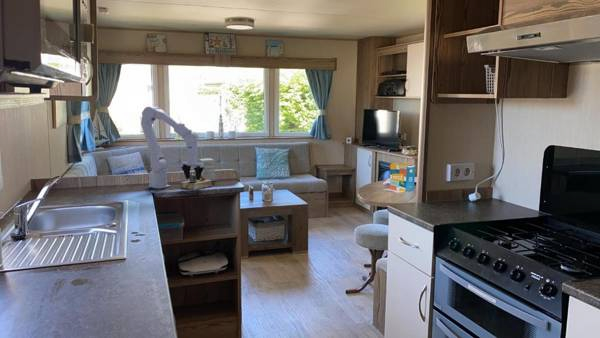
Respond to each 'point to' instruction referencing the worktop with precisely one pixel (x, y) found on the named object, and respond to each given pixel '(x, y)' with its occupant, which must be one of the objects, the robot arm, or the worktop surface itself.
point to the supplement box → (208, 169)
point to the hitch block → (196, 184)
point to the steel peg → (192, 178)
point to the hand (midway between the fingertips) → (193, 179)
